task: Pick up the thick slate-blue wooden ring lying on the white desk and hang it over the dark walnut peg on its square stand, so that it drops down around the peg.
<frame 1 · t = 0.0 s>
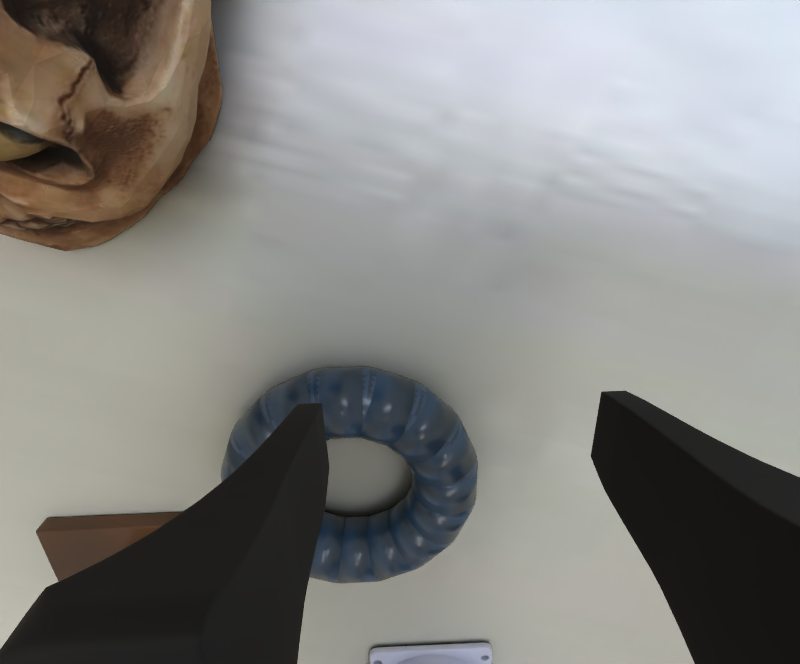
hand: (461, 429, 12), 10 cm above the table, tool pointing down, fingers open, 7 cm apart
ring: (351, 481, 24), point 2 cm above the table
peg stand: (138, 565, 28), on the table
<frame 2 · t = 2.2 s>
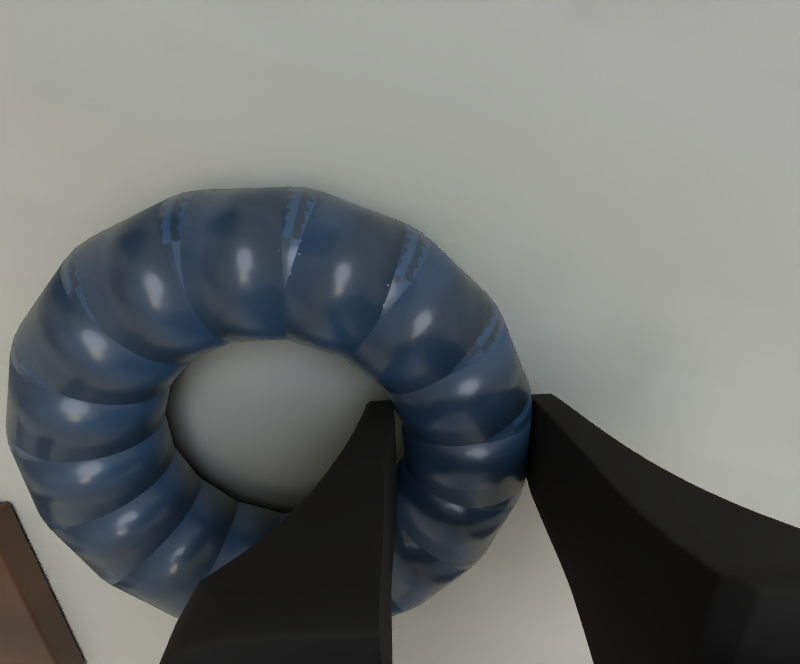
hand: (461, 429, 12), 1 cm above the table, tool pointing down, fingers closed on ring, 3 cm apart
ring: (283, 441, 12), point 2 cm above the table, touching gripper
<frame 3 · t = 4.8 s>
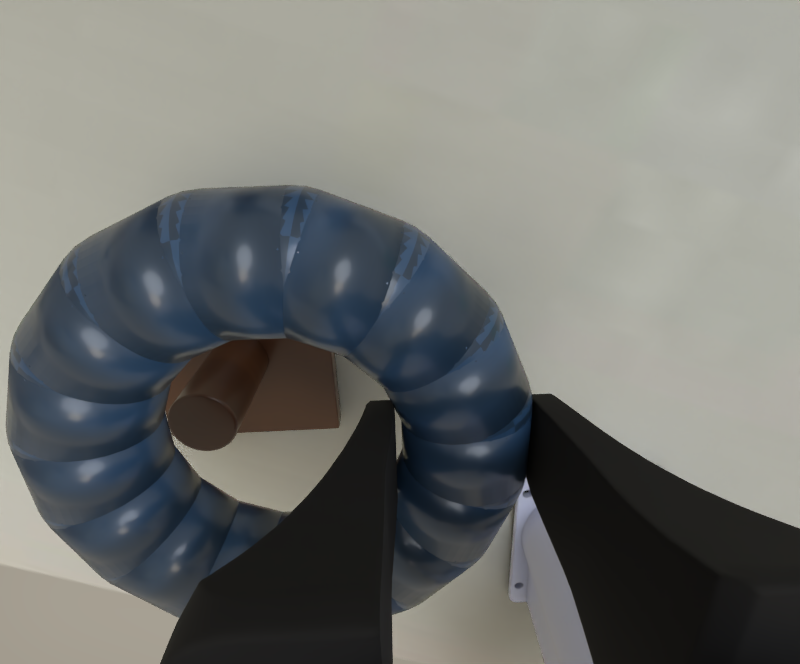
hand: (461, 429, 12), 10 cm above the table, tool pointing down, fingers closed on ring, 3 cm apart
ring: (283, 440, 12), point 10 cm above the table, touching gripper
peg stand: (247, 348, 22), on the table
when the fingers open (4 cm above the table, at t = 7.4 s): ring drops 2 cm, resting on peg stand.
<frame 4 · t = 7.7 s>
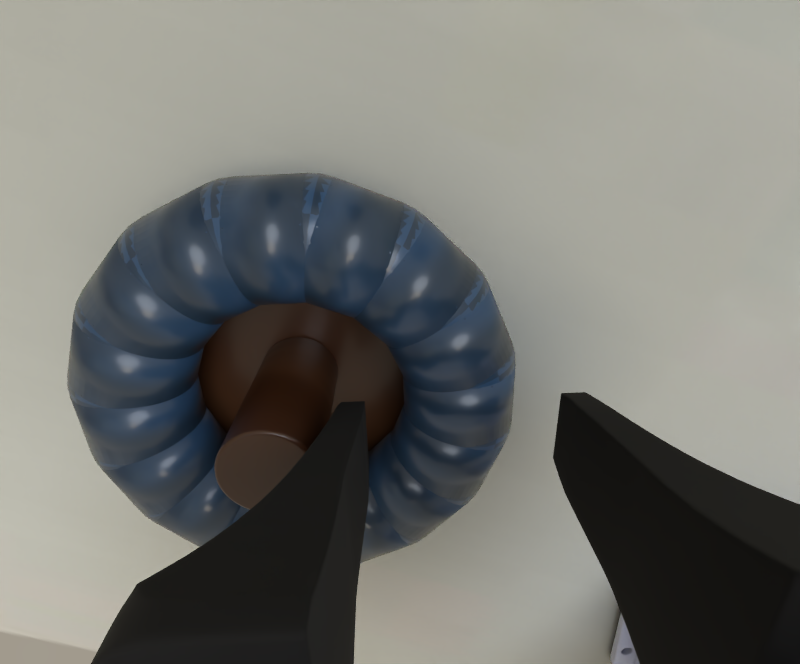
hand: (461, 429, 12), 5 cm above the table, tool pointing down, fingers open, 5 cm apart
ring: (301, 395, 14), point 3 cm above the table, touching peg stand
peg stand: (305, 355, 16), on the table
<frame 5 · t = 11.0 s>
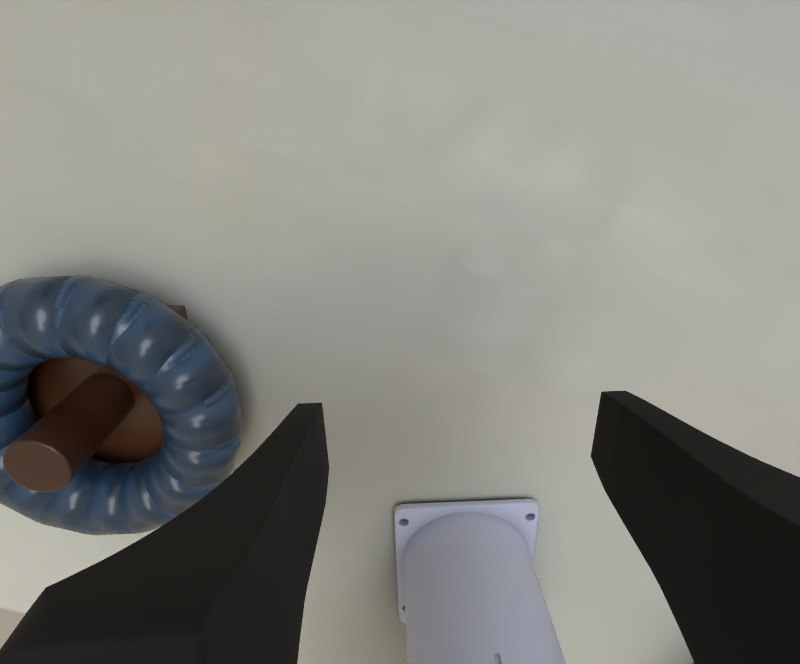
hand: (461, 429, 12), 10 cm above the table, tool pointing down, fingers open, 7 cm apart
ring: (94, 415, 21), point 3 cm above the table, touching peg stand
peg stand: (118, 385, 23), on the table
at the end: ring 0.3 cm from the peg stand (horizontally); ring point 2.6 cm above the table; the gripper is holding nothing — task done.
